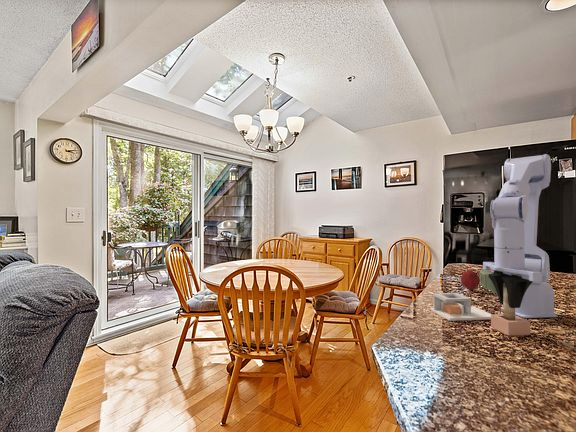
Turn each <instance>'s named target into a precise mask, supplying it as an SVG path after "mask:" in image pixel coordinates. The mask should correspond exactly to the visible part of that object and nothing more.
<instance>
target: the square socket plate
mask: <svg viewBox="0 0 576 432" xmlns="http://www.w3.org/2000/svg"><path fill="white" fill-rule="evenodd" d="M450 303H454V304H456V305H458V306H460V314H449V313H447V312H445V311H444V304H450ZM471 304H472V300H471V298H470V297H468V296H466V295H463V294H461V293H458V292H447V293H444V292H441V293H440V292H439V293H433V307H430V308H429V309H430V311H432V312H433V313H435V314H437V315H439V316H440V317H442V318H444V319H446V320H448V321H449V322H450V321H451V322H453V321H481V320H484V321H485V320H491V315H493V314H492V313H490V312H487V311H485V310H483V309H481V308H479V307H476V306H473V305H471Z"/></svg>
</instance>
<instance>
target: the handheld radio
mask: <svg viewBox="0 0 576 432" xmlns="http://www.w3.org/2000/svg"><path fill="white" fill-rule="evenodd" d="M493 273H494V271H491V270H484V269H479V273H478V274H479V275H478V276H479V279H480V283H479V286H480V287H481V286H482V288H483V287H484V288H483V289H485V288H486V289H485V290H487V289H488V290H487V291H489V290H490V292H491V291H492V292H491V293H493V292H494V293H493V294H495V293H496V294H495V295H497V292H496V289H495V287H494V285H493V283H492V281H491V279H490V278H489V277H488V274H493Z"/></svg>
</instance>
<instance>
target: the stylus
mask: <svg viewBox="0 0 576 432" xmlns="http://www.w3.org/2000/svg"><path fill="white" fill-rule="evenodd" d="M502 305H503V306H502V307H503V309H502V310H503V311H502V312H503V313H502V314H503V315H504V319H506V320H509V321H512V320H515V316H516V315H515V308H510V307H509V304H508V294H507V289H506V286H505V283H503V304H502Z"/></svg>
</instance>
